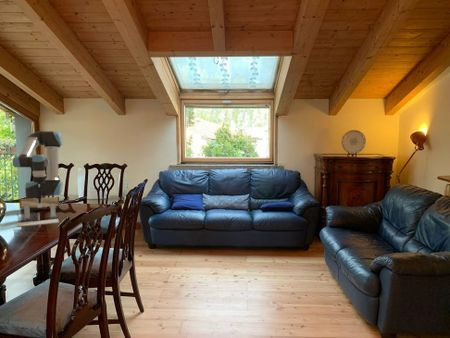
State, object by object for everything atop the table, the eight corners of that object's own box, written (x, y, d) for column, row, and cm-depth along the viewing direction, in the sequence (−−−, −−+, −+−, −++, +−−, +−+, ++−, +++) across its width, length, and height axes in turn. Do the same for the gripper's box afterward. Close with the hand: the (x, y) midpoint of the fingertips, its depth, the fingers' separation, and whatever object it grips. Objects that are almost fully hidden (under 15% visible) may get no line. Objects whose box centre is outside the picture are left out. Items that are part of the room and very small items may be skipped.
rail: (20, 207, 217) (19, 198, 216) (59, 204, 229) (58, 196, 229) (19, 208, 214) (19, 199, 213) (59, 205, 226) (59, 197, 225)
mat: (17, 223, 209) (17, 222, 209) (58, 219, 221) (58, 218, 221) (16, 227, 200) (16, 226, 200) (58, 222, 212) (58, 222, 212)
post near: (23, 219, 219) (22, 203, 219) (31, 218, 222) (31, 203, 221) (22, 221, 214) (22, 205, 213) (31, 220, 217) (30, 204, 216)
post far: (49, 217, 227) (48, 202, 226) (57, 216, 230) (56, 201, 229) (49, 219, 222) (48, 203, 221) (57, 218, 225) (56, 202, 224)
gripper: (33, 175, 229) (34, 203, 230) (32, 178, 207) (33, 209, 209) (45, 174, 232) (46, 202, 234) (45, 177, 211) (46, 208, 212)
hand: (40, 205), depth 221 cm, fingers open, 13 cm apart
